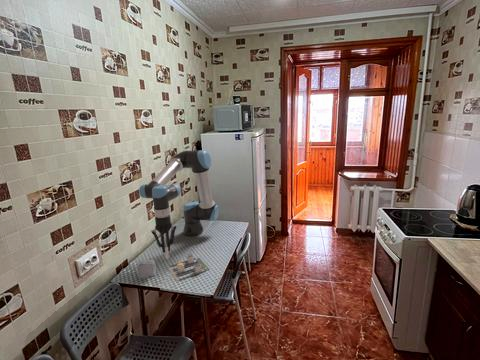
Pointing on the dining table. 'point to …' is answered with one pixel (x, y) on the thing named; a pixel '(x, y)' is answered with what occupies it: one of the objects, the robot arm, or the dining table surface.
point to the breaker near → (198, 268)
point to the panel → (176, 276)
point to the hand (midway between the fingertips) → (167, 257)
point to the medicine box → (147, 268)
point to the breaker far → (190, 258)
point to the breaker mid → (180, 267)
